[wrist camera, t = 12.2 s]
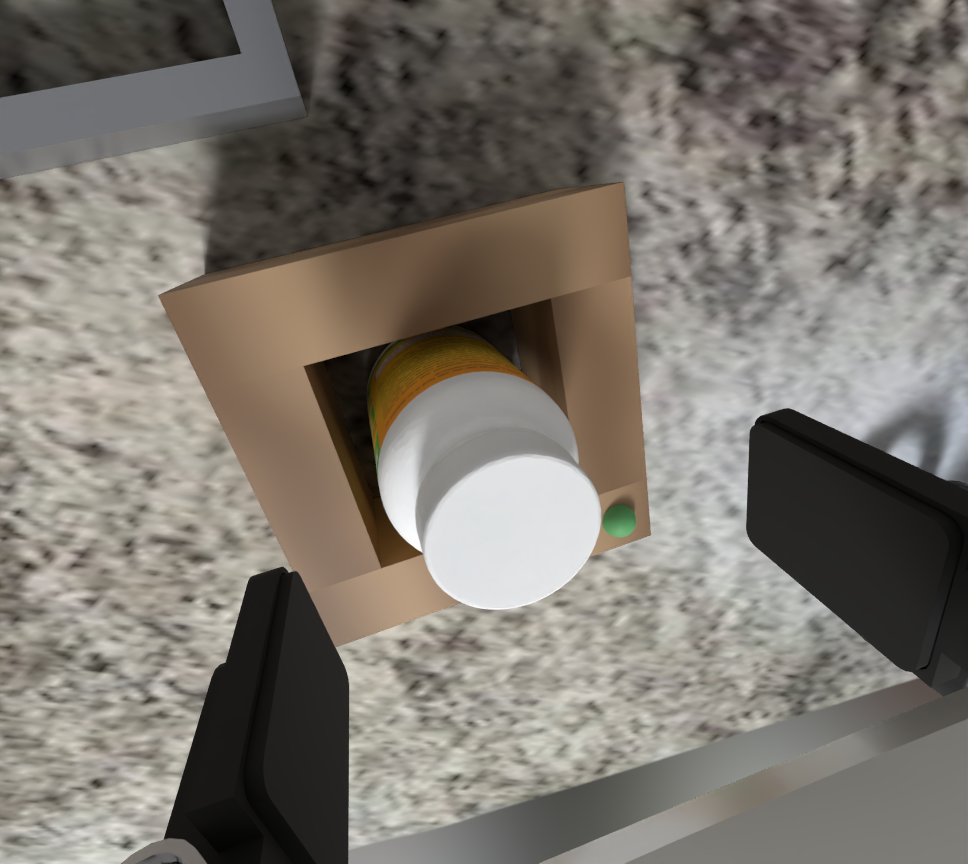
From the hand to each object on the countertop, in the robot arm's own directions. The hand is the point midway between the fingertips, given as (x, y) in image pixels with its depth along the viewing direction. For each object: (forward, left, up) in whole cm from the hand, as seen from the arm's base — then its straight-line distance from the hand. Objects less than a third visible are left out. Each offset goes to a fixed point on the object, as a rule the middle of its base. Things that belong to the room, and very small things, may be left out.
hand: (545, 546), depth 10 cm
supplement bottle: (0, 0, -11) cm, 11 cm away
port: (+1, 0, -10) cm, 10 cm away
